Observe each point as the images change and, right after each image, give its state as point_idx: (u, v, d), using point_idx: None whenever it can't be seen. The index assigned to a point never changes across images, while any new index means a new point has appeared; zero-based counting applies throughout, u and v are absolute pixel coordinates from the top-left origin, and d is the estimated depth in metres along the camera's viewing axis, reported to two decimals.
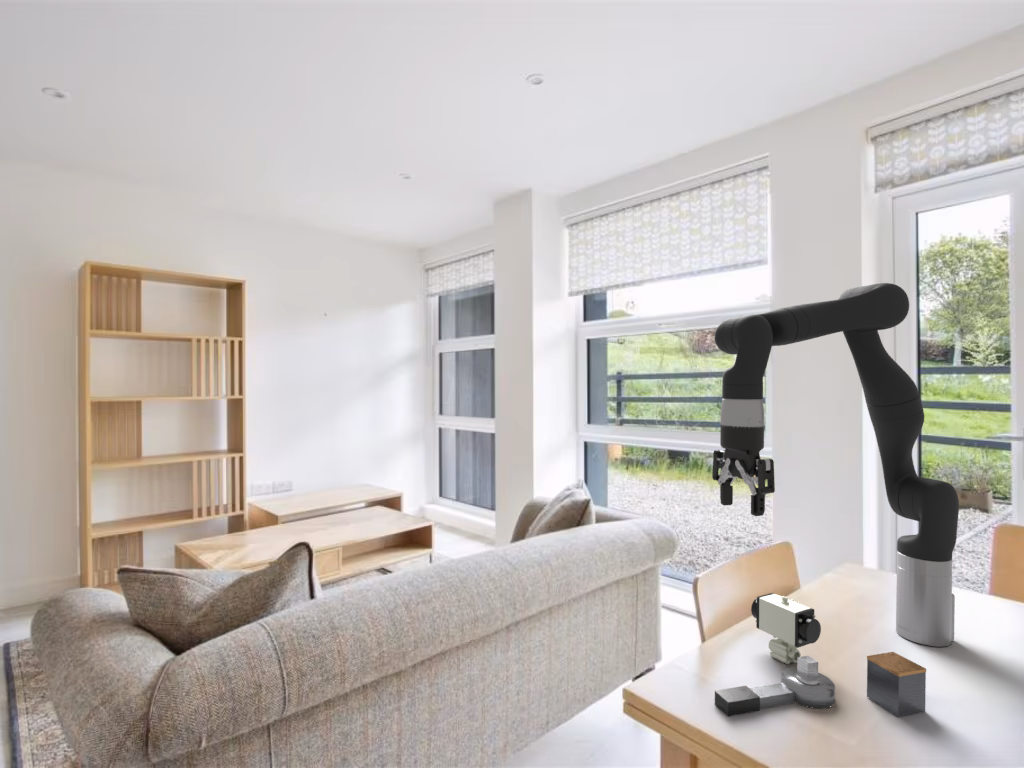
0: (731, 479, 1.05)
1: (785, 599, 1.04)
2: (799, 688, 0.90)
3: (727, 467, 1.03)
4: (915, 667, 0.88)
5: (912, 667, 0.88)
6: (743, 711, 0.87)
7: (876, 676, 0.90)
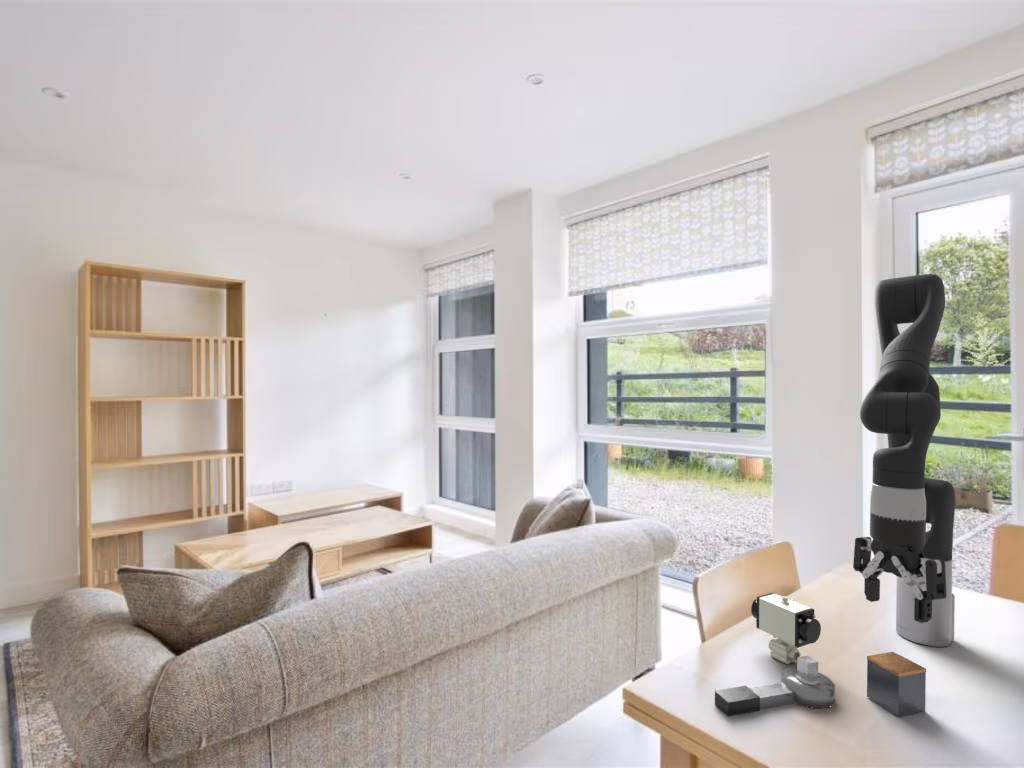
0: (878, 572, 0.94)
1: (785, 599, 1.04)
2: (799, 688, 0.90)
3: (878, 561, 0.91)
4: (915, 667, 0.88)
5: (912, 667, 0.88)
6: (743, 711, 0.87)
7: (876, 676, 0.90)
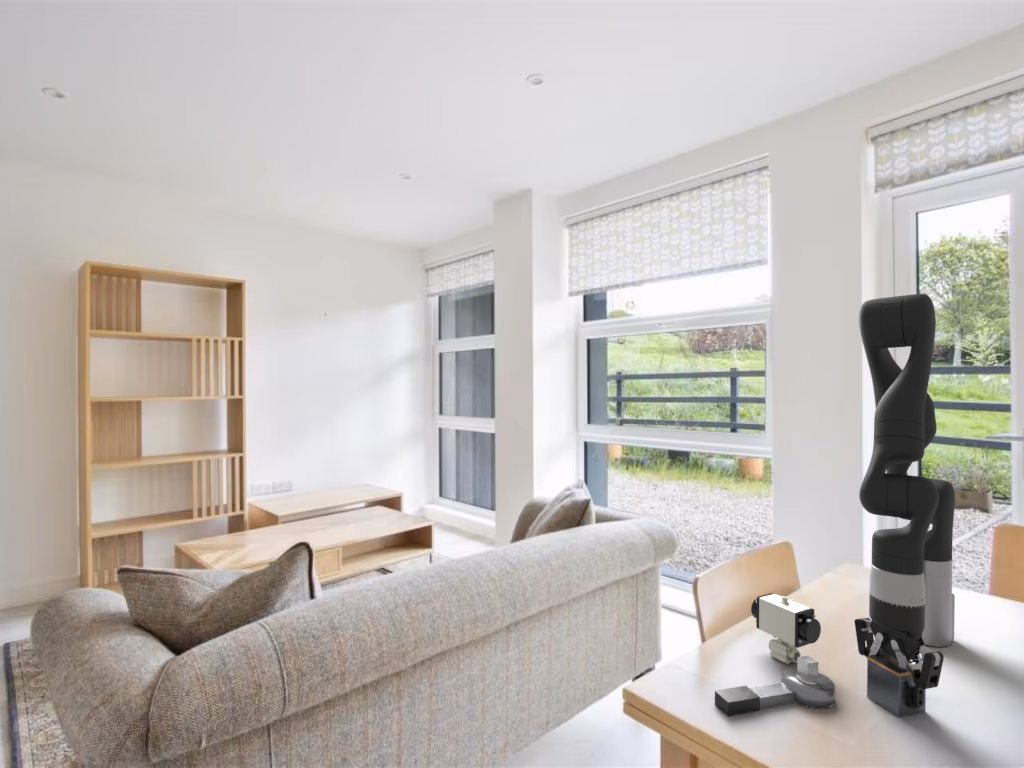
0: None
1: (785, 599, 1.04)
2: (799, 688, 0.90)
3: (879, 643, 0.91)
4: None
5: None
6: (743, 711, 0.87)
7: (876, 676, 0.90)
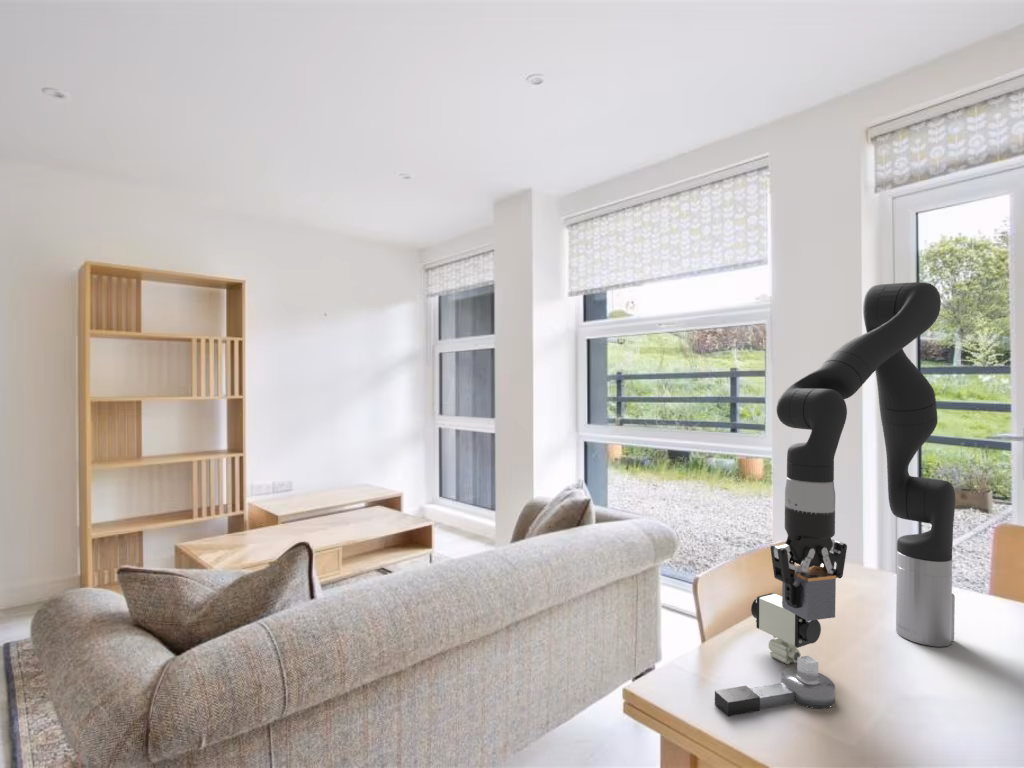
0: None
1: None
2: (799, 688, 0.90)
3: None
4: None
5: None
6: (743, 711, 0.87)
7: None
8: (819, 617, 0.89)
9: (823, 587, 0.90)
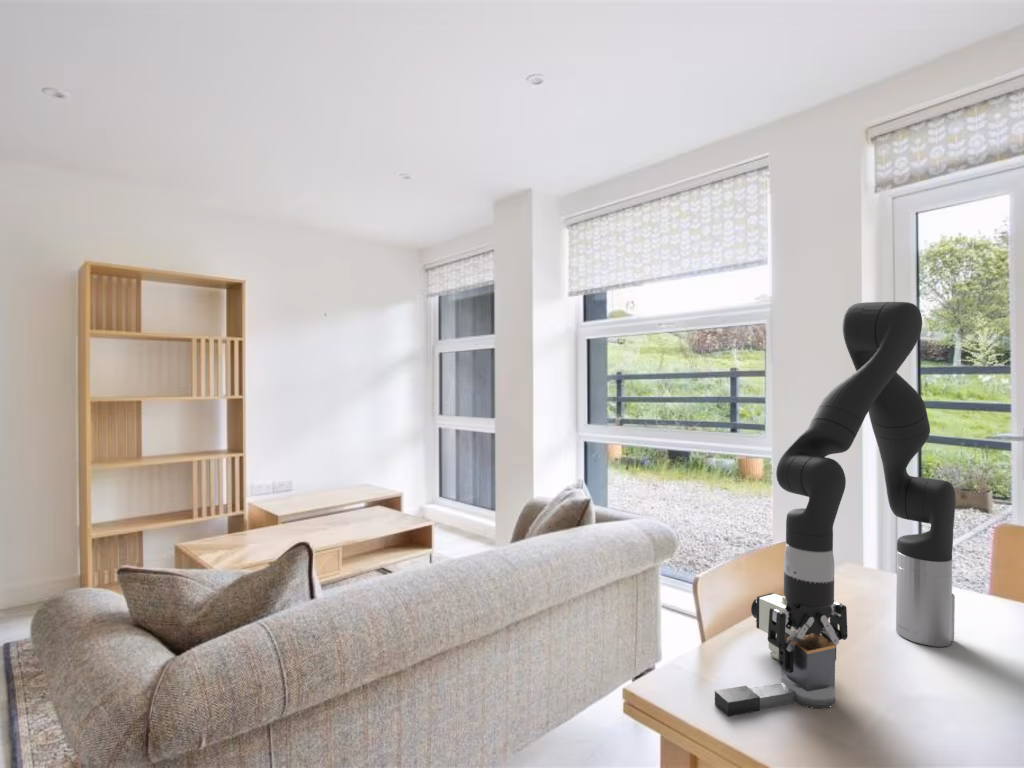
0: None
1: (785, 599, 1.04)
2: (799, 688, 0.90)
3: None
4: (803, 645, 0.90)
5: (803, 644, 0.90)
6: (743, 711, 0.87)
7: None
8: (819, 687, 0.90)
9: (823, 657, 0.89)
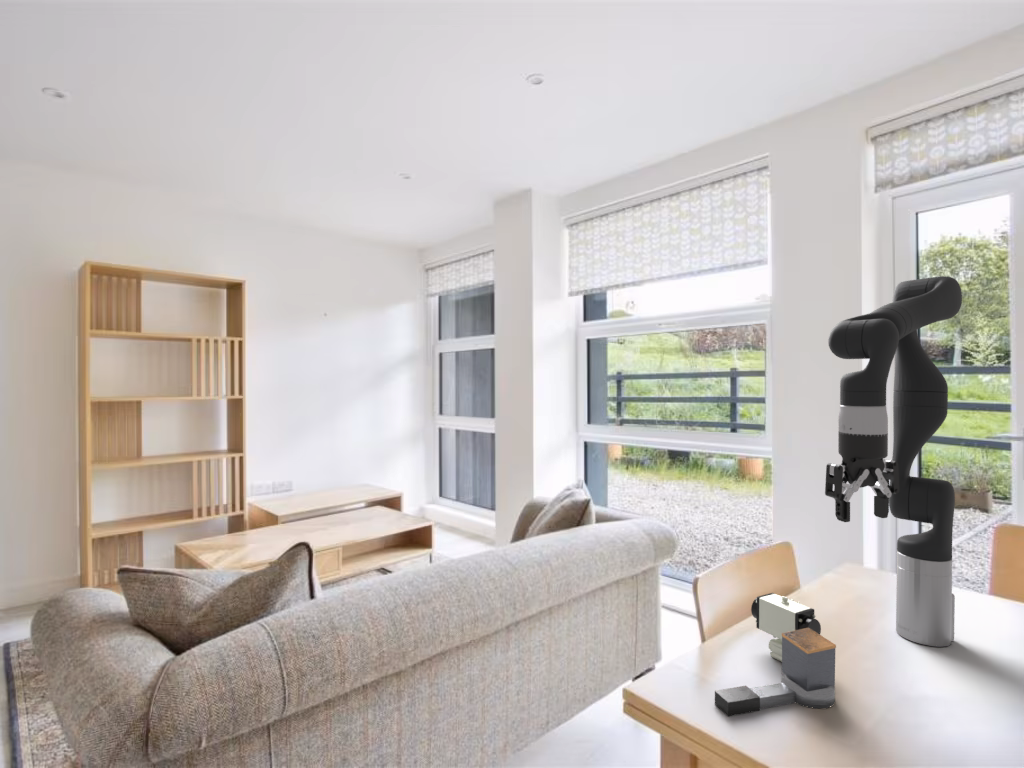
0: None
1: (785, 599, 1.04)
2: (799, 688, 0.90)
3: None
4: (803, 645, 0.90)
5: (803, 644, 0.90)
6: (743, 711, 0.87)
7: None
8: (819, 687, 0.90)
9: (823, 657, 0.89)
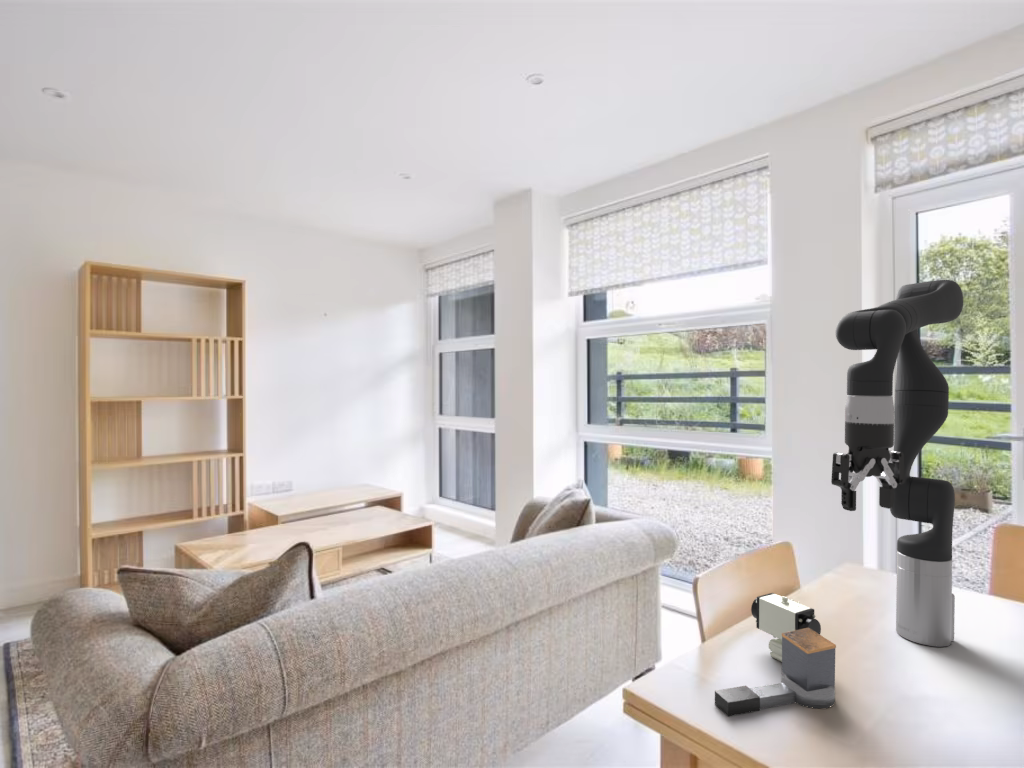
0: None
1: (785, 599, 1.04)
2: (799, 688, 0.90)
3: None
4: (803, 645, 0.90)
5: (803, 644, 0.90)
6: (743, 711, 0.87)
7: None
8: (819, 687, 0.90)
9: (823, 657, 0.89)
